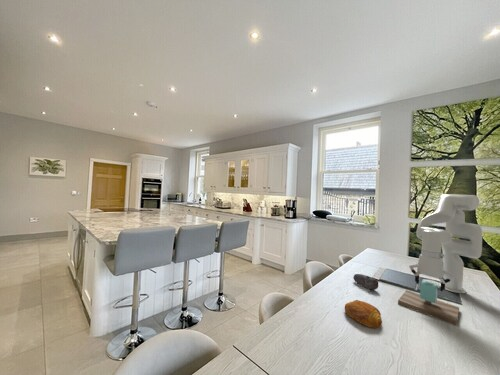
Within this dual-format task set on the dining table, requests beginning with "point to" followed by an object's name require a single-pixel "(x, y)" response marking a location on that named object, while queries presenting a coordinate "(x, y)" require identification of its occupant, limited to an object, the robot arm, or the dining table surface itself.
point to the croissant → (364, 313)
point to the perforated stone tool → (366, 281)
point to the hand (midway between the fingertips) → (429, 286)
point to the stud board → (430, 307)
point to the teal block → (428, 291)
